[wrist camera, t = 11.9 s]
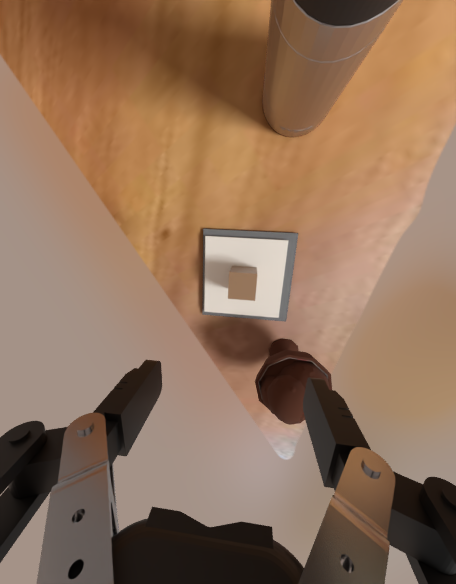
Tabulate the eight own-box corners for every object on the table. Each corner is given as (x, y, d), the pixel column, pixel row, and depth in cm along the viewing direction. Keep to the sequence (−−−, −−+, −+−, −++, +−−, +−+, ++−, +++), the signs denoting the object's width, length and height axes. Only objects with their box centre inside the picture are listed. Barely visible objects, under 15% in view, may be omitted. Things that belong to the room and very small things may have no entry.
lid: (206, 235, 34) (197, 237, 29) (287, 240, 33) (294, 242, 28) (205, 309, 38) (197, 323, 33) (278, 316, 37) (282, 331, 32)
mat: (204, 228, 35) (203, 228, 34) (297, 233, 33) (298, 233, 33) (203, 313, 39) (202, 314, 39) (285, 320, 38) (286, 321, 37)
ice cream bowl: (260, 379, 42) (265, 457, 28) (250, 329, 39) (250, 387, 25) (316, 373, 40) (351, 453, 26) (309, 320, 37) (346, 378, 23)
